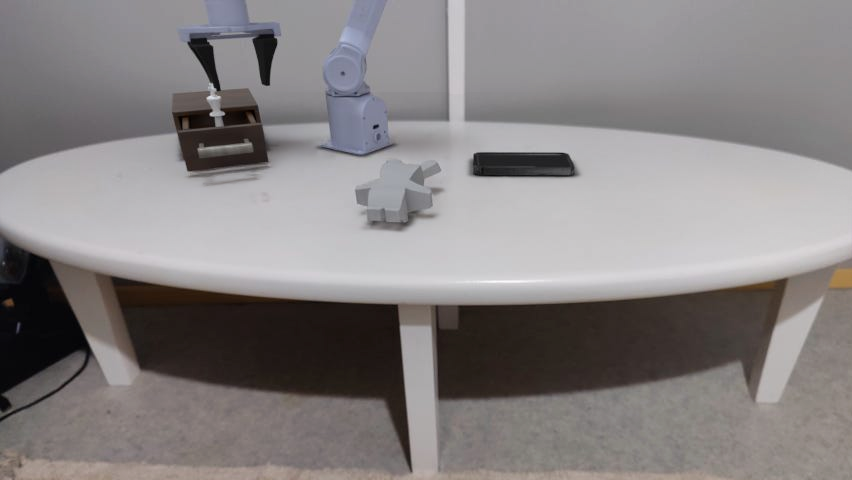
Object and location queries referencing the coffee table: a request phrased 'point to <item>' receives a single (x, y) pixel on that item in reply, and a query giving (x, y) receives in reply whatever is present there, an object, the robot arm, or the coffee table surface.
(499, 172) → the phone
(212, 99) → the chess piece
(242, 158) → the drawer
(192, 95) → the cabinet
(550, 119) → the coffee table surface
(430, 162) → the grey figure-shaped block
